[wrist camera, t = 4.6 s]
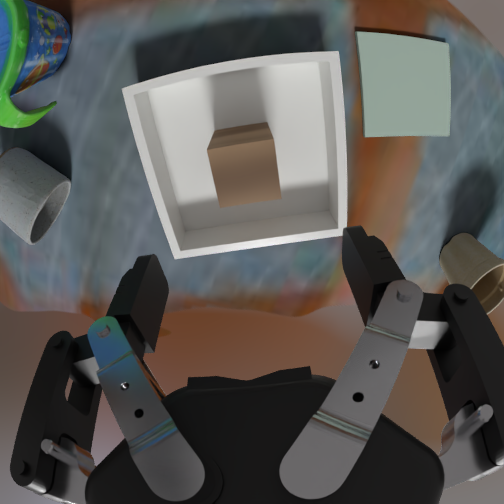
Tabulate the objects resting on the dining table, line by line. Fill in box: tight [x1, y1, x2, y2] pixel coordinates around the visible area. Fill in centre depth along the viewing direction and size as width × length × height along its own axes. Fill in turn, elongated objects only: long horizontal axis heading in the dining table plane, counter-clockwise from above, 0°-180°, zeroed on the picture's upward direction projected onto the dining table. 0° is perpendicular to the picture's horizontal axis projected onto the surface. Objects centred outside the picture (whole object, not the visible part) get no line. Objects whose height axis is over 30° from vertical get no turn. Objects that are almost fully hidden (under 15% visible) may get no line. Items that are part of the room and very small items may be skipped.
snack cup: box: [0, 0, 71, 128], centre depth 13 cm, size 16×10×10 cm
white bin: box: [122, 51, 347, 259], centre depth 24 cm, size 16×16×4 cm
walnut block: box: [207, 122, 282, 208], centre depth 23 cm, size 4×4×6 cm
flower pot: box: [439, 233, 504, 314], centre depth 30 cm, size 9×9×9 cm
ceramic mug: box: [0, 147, 71, 245], centre depth 23 cm, size 11×8×8 cm
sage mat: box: [355, 32, 451, 137], centre depth 21 cm, size 10×10×1 cm
